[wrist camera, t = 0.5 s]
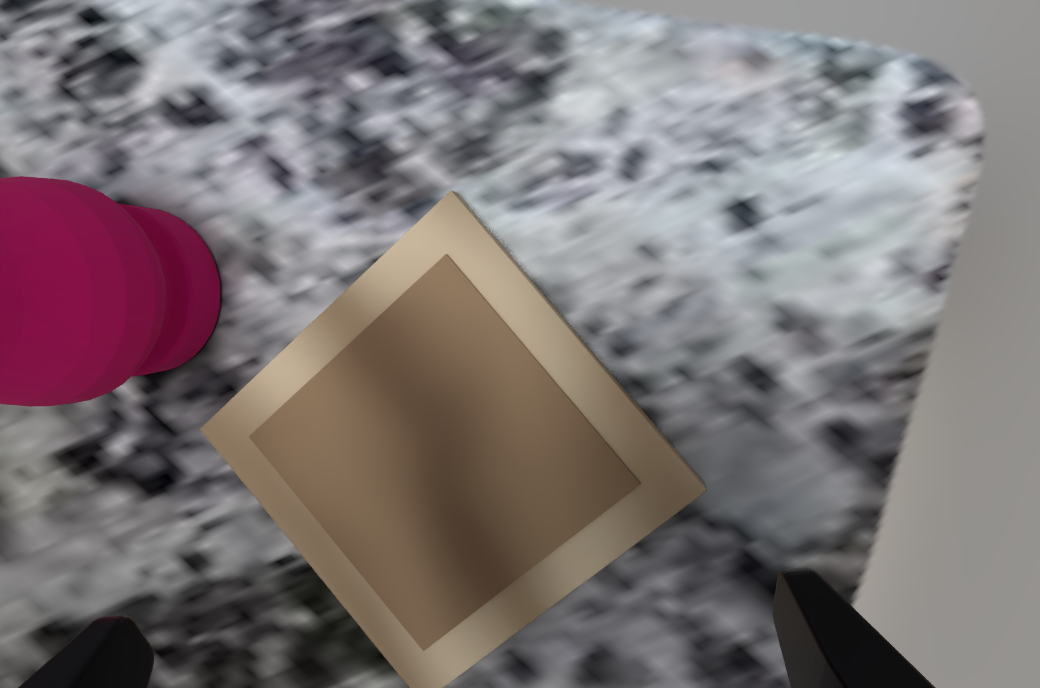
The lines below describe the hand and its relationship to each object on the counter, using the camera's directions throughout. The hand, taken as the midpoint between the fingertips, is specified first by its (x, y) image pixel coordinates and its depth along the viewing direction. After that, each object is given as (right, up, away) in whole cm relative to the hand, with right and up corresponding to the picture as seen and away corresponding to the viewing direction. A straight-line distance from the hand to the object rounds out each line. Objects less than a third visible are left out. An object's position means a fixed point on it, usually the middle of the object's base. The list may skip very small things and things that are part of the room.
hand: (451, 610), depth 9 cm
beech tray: (-2, 0, +15) cm, 15 cm away
